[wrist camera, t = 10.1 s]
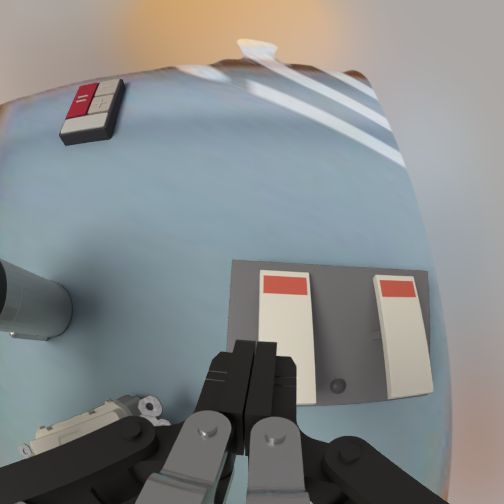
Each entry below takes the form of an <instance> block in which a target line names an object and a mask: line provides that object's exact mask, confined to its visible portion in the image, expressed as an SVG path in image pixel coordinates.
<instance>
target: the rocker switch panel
mask: <svg viewBox="0 0 504 504" xmlns="http://www.w3.org/2000/svg"><path fill="white" fill-rule="evenodd" d="M260 270H271V271H288V272H305V273H309V281H310V294H311V308H312V323H313V340H314V359H315V383H316V403H315V404H314V405H296V406H328V405H345V404H358V403H369V402H379V401H388V400H396V399H404V398H410V397H417V396H423V395H427V394H422V395H416V396H409V397H402V398H395V399H388V393H387V380H386V370H385V360H384V351H383V342H382V334H381V327H380V320H379V313H378V306H377V300H376V294H375V288H374V282H373V278H374V276H375V275H392V276H413V277H414V281H415V285H416V290H417V294H418V298H419V303H420V308H421V313H422V318H423V323H424V328H425V334H426V340H427V346H428V352H429V357H430V309H429V287H428V272H427V271H420V270H401V269H382V268H364V267H347V266H330V265H313V264H296V263H280V262H264V261H248V260H232V270H231V284H230V300H229V315H228V331H227V348H226V352H233V349H234V345H235V341H236V339H238V340H251V341H256V346H257V341H258V326H259V280H260Z"/></svg>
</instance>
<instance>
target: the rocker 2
mask: <svg viewBox="0 0 504 504" xmlns="http://www.w3.org/2000/svg"><path fill="white" fill-rule="evenodd" d="M373 282H374V288H375V294H376V300H377V306H378V313H379V320H380V327H381V334H382V342H383V351H384V360H385V370H386V380H387V393H388V399H395V398H402V397H409V396H416V395H422V394H429V393H431V392H434V391H433V382H432V374H431V366H430V359H429V352H428V346H427V340H426V334H425V328H424V323H423V318H422V313H421V308H420V303H419V298H418V294H417V290H416V285H415V281H414V277H413V276H392V275H375V276H374V278H373Z"/></svg>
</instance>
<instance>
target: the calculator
mask: <svg viewBox="0 0 504 504" xmlns="http://www.w3.org/2000/svg"><path fill="white" fill-rule="evenodd" d="M124 91H125V85H124V82H123V80H122V79H115V80H109V81H104V82H100V83H93V84H88V85H83V86H80V87H79V89H78V91H77V94H76V96H75V98H74V100H73V102H72V105H71V107H70V109H69V111H68V114H67V116H66V119H65V121H64V124H63V126H62V129H61V131H60V134H59V137H60V138H61V140H62V141H63V143H64V144H65V146H68V145H74V144H80V143H87V142H94V141H102V140H109V139H111V137H112V133H113V129H114V125H115V120H116V116H117V113H118V110H119V107H120V104H121V101H122V97H123V94H124Z"/></svg>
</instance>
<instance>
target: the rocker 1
mask: <svg viewBox="0 0 504 504" xmlns="http://www.w3.org/2000/svg"><path fill="white" fill-rule="evenodd" d="M258 341H265V342H277V354H276V356H290V357H291V358H292V359H293V361H294V363H295V364H296V366H297V378H296V379H297V387H296V388H297V400H296V405H314V404H315V403H316V383H315V359H314V340H313V323H312V308H311V294H310V281H309V273H305V272H288V271H271V270H260V280H259V326H258Z"/></svg>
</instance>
